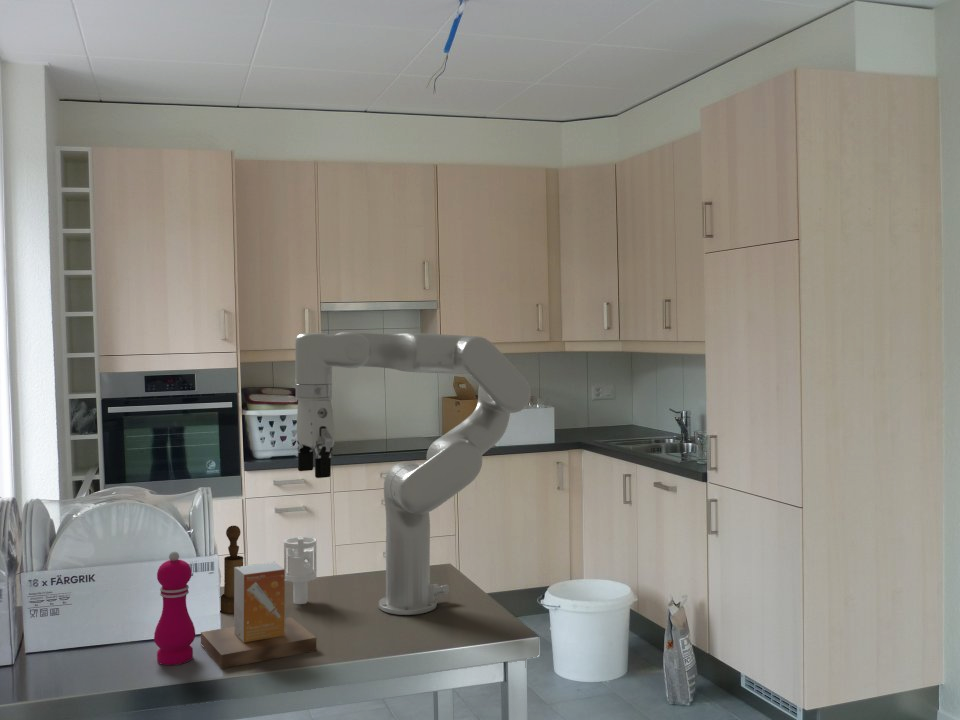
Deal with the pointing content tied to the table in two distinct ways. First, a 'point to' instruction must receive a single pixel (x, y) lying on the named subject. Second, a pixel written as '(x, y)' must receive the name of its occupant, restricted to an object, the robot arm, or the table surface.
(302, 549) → the white slotted cylindrical holder
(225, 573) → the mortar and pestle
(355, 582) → the table surface
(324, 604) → the table surface
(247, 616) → the small box
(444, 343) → the robot arm
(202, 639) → the walnut board
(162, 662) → the pepper mill
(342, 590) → the table surface
